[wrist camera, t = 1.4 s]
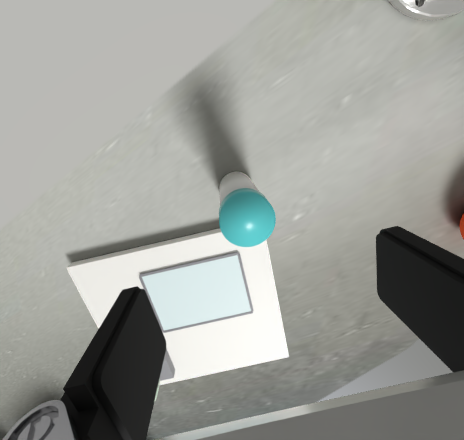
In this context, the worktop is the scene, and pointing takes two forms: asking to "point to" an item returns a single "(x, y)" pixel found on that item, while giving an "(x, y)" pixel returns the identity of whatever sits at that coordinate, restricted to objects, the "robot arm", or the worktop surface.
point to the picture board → (195, 300)
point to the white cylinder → (244, 211)
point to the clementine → (462, 226)
